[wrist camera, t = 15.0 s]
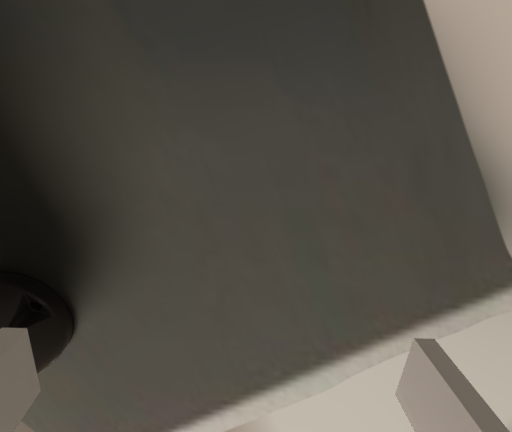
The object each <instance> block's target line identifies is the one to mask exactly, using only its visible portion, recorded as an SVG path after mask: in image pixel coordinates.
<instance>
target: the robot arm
mask: <svg viewBox="0 0 512 432" xmlns="http://www.w3.org/2000/svg"><path fill="white" fill-rule="evenodd" d="M72 332H73V322H72V317H71V314H70V312H69V310H68V308H67V306H66V305H65V303H64V302H63V301H62V299H61V298H60V297H59V296H58V295H57V294H56V293H55V292H54V291H52V290H51V289H50V288H48V287H47V286H45V285H44V284H42V283H40V282H38V281H36V280H34V279H32V278H29V277H27V276H23V275H20V274H15V273H8V272H0V432H14V430H15V429H16V427H17V426H18V424H19V423H20V421H21V420H22V418H23V417H24V415H25V414H26V412H27V411H28V409H29V408H30V406H31V405H32V403H33V402H34V400H35V399H36V397H37V396H38V394H39V393H40V391H41V390H40V385H39V381H38V376H37V374H38V373H39V372H40V371H41V370H42V369H44V368H46V367H47V366H49V365H50V364H52V363H53V362H54V361H55V360H56V359H57V358H58V357H59V356H60V354H61V353H62V352H63V350H64V349H65V347H66V346H67V344H68V343H69V341H70V339H71V336H72ZM395 395H396V397H397V399H398V400H399V402H400V404H401V406H402V408H403V410H404V412H405V413H406V416H407V417H408V419H409V421H410V423H411V425H412V427H413V428H414V431H415V432H509V430H507V428H506V427H505V426H504V424H503V423H502V422H501V421H500V419H499V418H498V417H497V416H496V415H495V413H494V412H493V411H492V410H491V408H490V407H489V406H488V405H487V403H486V402H485V401H484V400H483V398H482V397H481V396H480V395H479V394H478V392H477V391H476V390H475V389H474V387H473V386H472V385H471V384H470V383H469V381H468V380H467V379H466V377H465V376H464V375H463V374H462V373H461V371H460V370H459V369H458V368H457V366H456V365H455V364H454V363H453V362H452V360H451V359H450V358H449V357H448V355H447V354H446V353H445V352H444V351H443V349H442V348H441V347H440V346H439V344H438V343H437V342H436V341H435V339H416V338H414V340H413V343H412V346H411V349H410V352H409V355H408V358H407V361H406V364H405V367H404V370H403V373H402V376H401V379H400V382H399V385H398V388H397V391H396V394H395Z"/></svg>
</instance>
